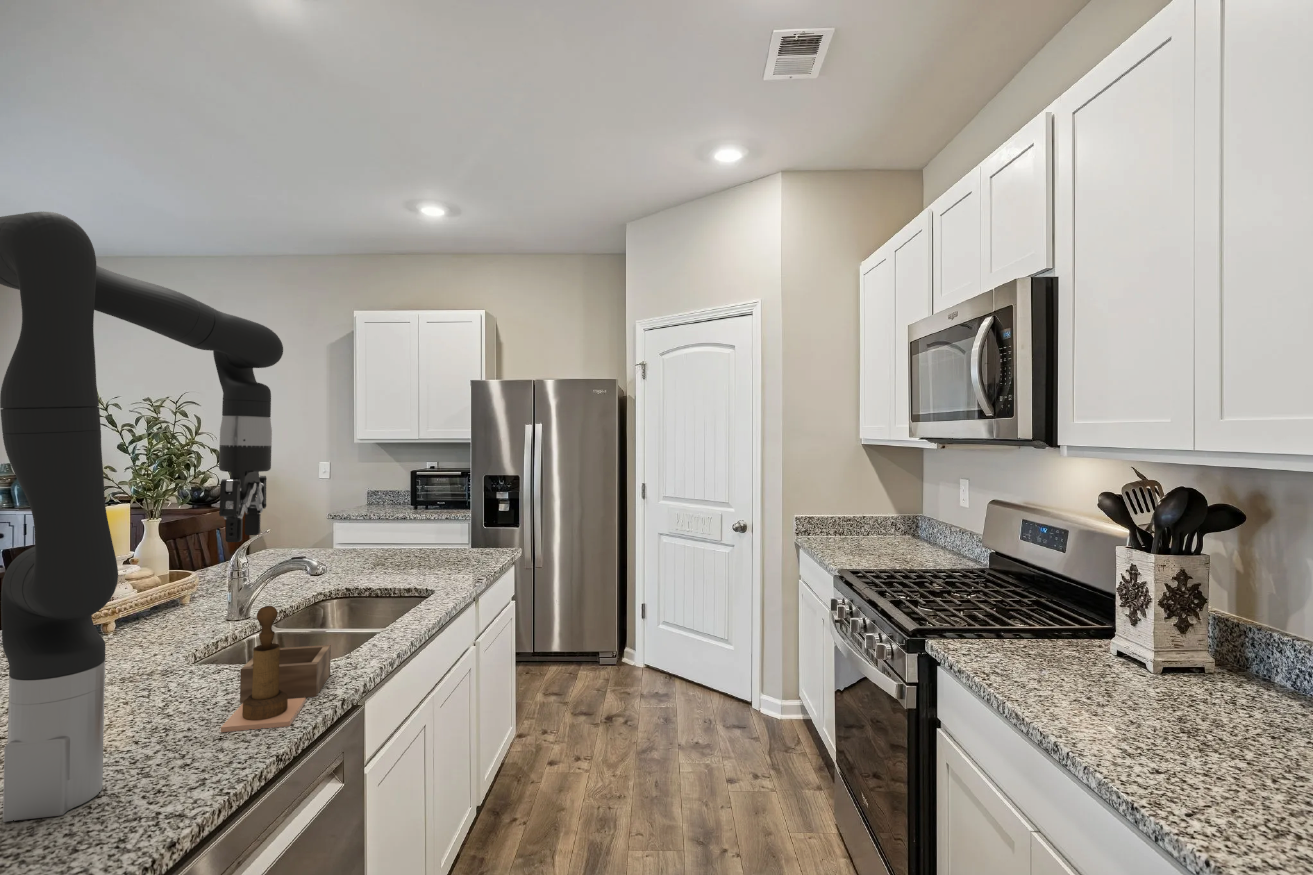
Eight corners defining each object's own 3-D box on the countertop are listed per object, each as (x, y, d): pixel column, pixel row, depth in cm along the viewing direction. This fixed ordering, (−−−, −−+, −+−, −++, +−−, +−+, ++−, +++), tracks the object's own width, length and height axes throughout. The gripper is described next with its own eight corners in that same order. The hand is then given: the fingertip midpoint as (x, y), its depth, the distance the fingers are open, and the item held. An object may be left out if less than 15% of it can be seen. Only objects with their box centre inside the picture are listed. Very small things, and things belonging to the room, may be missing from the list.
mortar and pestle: (266, 722, 106) (268, 612, 106) (232, 718, 107) (234, 610, 107) (296, 706, 112) (298, 603, 112) (264, 702, 114) (266, 600, 114)
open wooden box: (316, 696, 119) (316, 663, 119) (239, 702, 115) (240, 669, 115) (330, 674, 130) (330, 644, 130) (260, 679, 126) (261, 649, 126)
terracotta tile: (289, 726, 106) (289, 721, 106) (220, 732, 104) (220, 727, 104) (305, 702, 116) (305, 697, 116) (242, 707, 113) (243, 702, 114)
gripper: (255, 444, 104) (253, 544, 104) (283, 443, 118) (281, 532, 118) (202, 443, 102) (200, 545, 102) (237, 443, 116) (234, 533, 116)
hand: (243, 538), depth 110 cm, fingers open, 8 cm apart
